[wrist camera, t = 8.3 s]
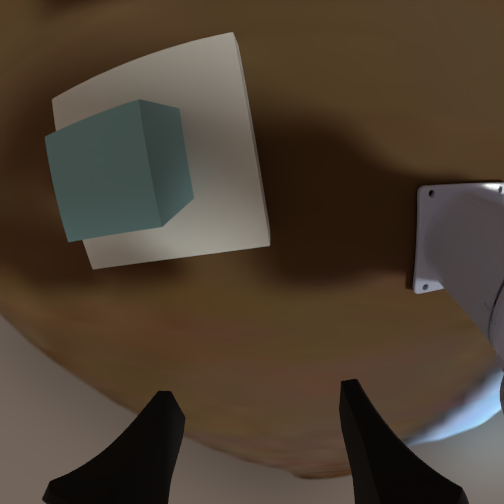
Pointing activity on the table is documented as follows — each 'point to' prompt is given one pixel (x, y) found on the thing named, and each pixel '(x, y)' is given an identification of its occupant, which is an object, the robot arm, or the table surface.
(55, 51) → the table surface
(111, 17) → the table surface
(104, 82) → the grey plinth
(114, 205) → the teal cube
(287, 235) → the table surface
